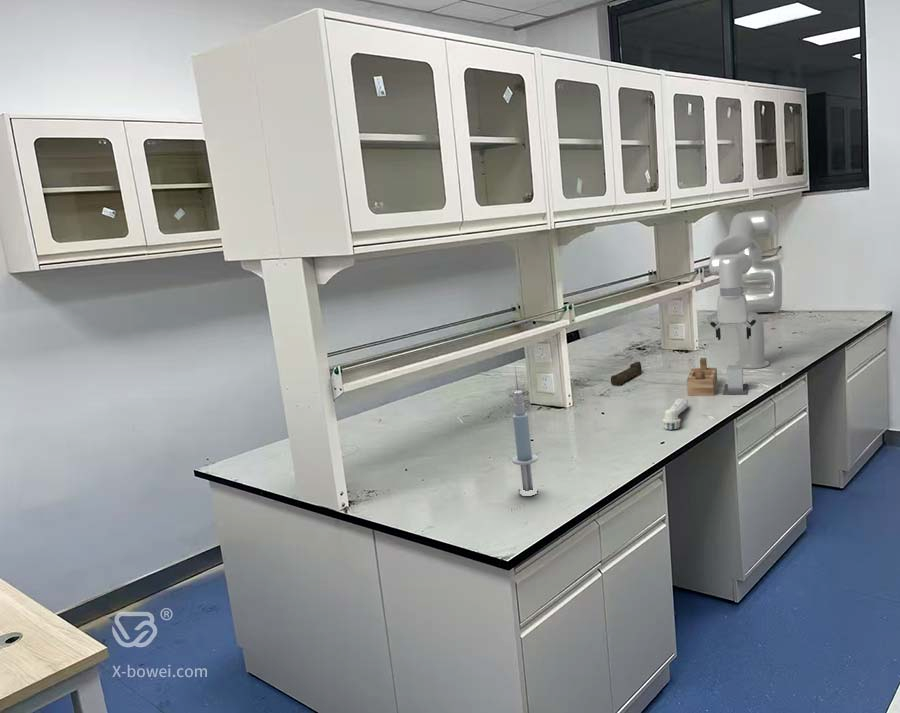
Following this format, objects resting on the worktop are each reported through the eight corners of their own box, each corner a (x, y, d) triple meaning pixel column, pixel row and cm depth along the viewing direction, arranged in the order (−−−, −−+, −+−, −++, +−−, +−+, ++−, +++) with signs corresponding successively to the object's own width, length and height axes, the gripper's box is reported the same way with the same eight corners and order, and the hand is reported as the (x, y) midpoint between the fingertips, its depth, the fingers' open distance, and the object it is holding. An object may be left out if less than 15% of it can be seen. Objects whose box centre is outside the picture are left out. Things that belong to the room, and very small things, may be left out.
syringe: (521, 499, 186) (508, 364, 179) (517, 490, 192) (505, 359, 186) (542, 496, 186) (530, 361, 179) (538, 487, 192) (526, 356, 186)
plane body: (692, 383, 275) (691, 358, 273) (717, 382, 271) (716, 357, 270) (687, 395, 259) (686, 369, 257) (713, 395, 256) (712, 368, 254)
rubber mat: (725, 384, 268) (725, 383, 267) (748, 384, 264) (748, 383, 264) (722, 394, 255) (722, 393, 255) (746, 394, 252) (746, 393, 252)
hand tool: (621, 387, 283) (620, 373, 282) (610, 386, 287) (609, 372, 286) (648, 373, 299) (647, 360, 298) (638, 373, 303) (637, 360, 302)
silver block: (729, 386, 264) (727, 365, 262) (743, 385, 262) (742, 364, 260) (727, 391, 258) (726, 369, 256) (742, 390, 256) (741, 369, 254)
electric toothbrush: (690, 397, 245) (677, 408, 222) (690, 416, 245) (678, 429, 222) (674, 397, 247) (660, 408, 224) (674, 416, 247) (661, 429, 225)
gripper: (757, 288, 252) (759, 335, 256) (706, 292, 260) (709, 337, 263) (757, 292, 246) (759, 340, 249) (704, 295, 253) (707, 342, 257)
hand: (733, 338), depth 256 cm, fingers open, 9 cm apart
